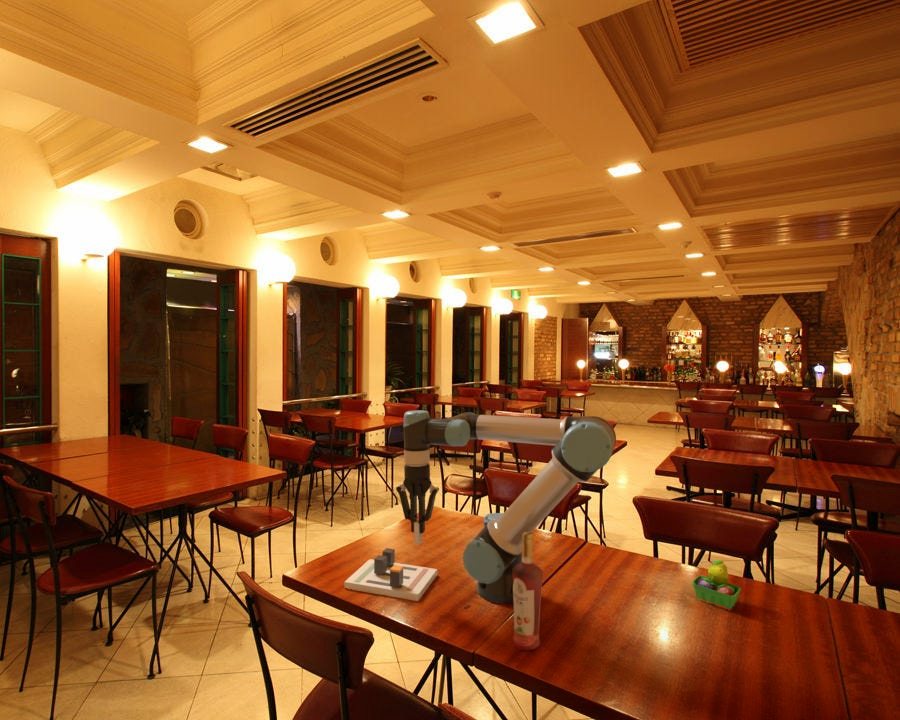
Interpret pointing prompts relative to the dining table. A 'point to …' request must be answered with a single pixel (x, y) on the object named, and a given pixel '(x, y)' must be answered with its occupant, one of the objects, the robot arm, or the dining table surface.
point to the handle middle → (380, 564)
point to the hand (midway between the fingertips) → (418, 543)
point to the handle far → (389, 556)
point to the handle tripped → (396, 576)
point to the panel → (368, 581)
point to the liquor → (527, 598)
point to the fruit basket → (716, 586)
